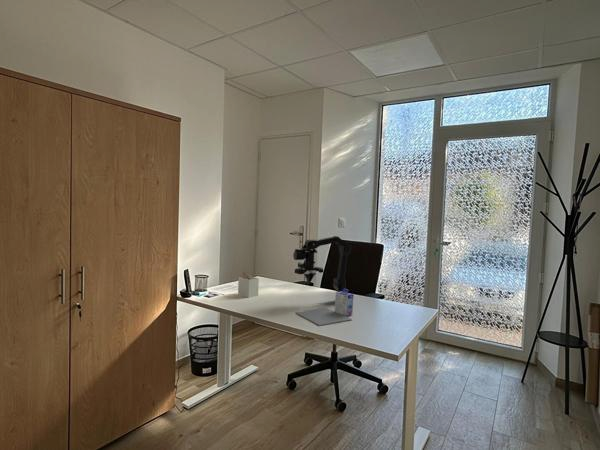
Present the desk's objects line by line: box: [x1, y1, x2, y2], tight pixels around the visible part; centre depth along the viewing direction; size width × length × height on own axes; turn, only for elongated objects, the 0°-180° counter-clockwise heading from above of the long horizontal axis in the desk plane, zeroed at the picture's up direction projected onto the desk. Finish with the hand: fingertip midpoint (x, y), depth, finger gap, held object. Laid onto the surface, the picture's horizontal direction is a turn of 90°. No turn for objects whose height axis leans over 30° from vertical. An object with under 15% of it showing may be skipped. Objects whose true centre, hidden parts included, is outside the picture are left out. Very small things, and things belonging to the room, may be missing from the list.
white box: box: [237, 270, 260, 299], centre depth 243 cm, size 9×11×17 cm
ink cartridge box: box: [334, 288, 354, 317], centre depth 209 cm, size 10×6×14 cm, turn 42°
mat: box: [295, 307, 353, 327], centre depth 201 cm, size 22×24×1 cm
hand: (308, 283), depth 226 cm, fingers closed
